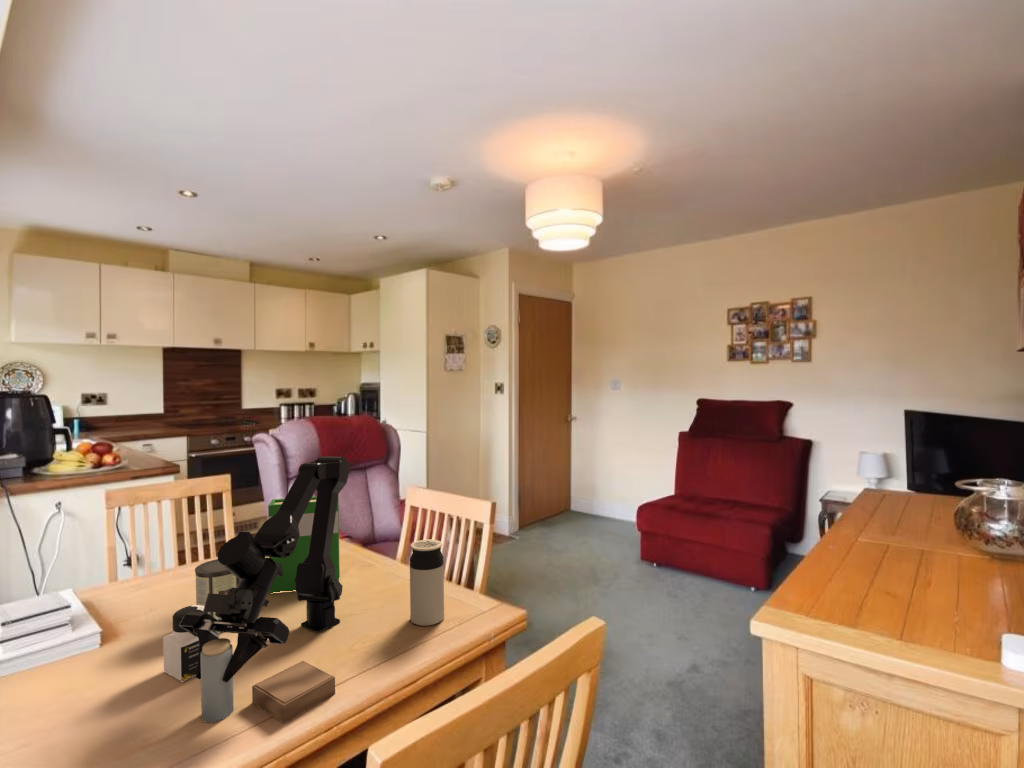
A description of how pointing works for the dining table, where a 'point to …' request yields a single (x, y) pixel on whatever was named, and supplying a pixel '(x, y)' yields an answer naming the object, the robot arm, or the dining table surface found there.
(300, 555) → the hardback book
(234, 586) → the coffee can
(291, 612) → the dining table surface
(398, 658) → the dining table surface
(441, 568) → the travel mug
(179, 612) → the medicine bottle
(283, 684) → the walnut block
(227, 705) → the spice jar
